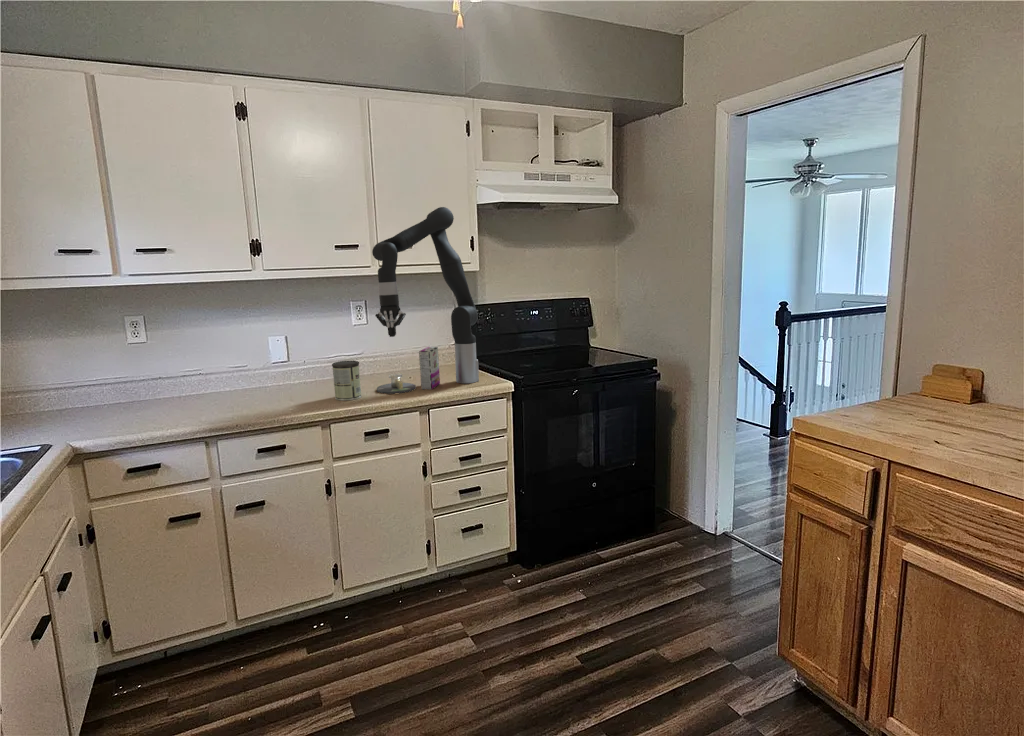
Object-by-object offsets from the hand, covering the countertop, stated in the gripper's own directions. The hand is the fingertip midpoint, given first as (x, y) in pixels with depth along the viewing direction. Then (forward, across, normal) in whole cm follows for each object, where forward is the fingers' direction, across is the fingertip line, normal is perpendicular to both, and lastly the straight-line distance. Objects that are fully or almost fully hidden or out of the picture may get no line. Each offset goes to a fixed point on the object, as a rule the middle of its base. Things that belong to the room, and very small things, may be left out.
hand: (392, 336), depth 239 cm
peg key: (+22, 0, 0) cm, 22 cm away
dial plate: (+23, -2, +4) cm, 23 cm away
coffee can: (+23, -15, -13) cm, 30 cm away
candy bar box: (+24, +10, +11) cm, 28 cm away
